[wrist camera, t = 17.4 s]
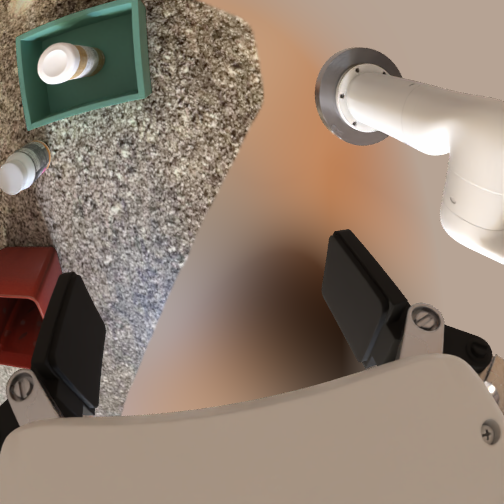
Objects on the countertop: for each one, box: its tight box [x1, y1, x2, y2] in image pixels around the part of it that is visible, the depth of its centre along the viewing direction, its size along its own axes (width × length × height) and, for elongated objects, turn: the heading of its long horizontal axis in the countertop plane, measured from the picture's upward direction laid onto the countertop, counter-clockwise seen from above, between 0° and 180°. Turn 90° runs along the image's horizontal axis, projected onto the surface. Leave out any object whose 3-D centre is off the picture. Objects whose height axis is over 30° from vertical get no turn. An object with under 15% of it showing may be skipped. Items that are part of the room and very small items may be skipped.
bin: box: [16, 0, 152, 131], centre depth 28 cm, size 17×14×8 cm
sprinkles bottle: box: [37, 43, 105, 84], centre depth 25 cm, size 5×4×14 cm
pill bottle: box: [0, 140, 51, 195], centre depth 32 cm, size 6×6×10 cm
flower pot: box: [0, 247, 62, 369], centre depth 41 cm, size 19×19×17 cm
